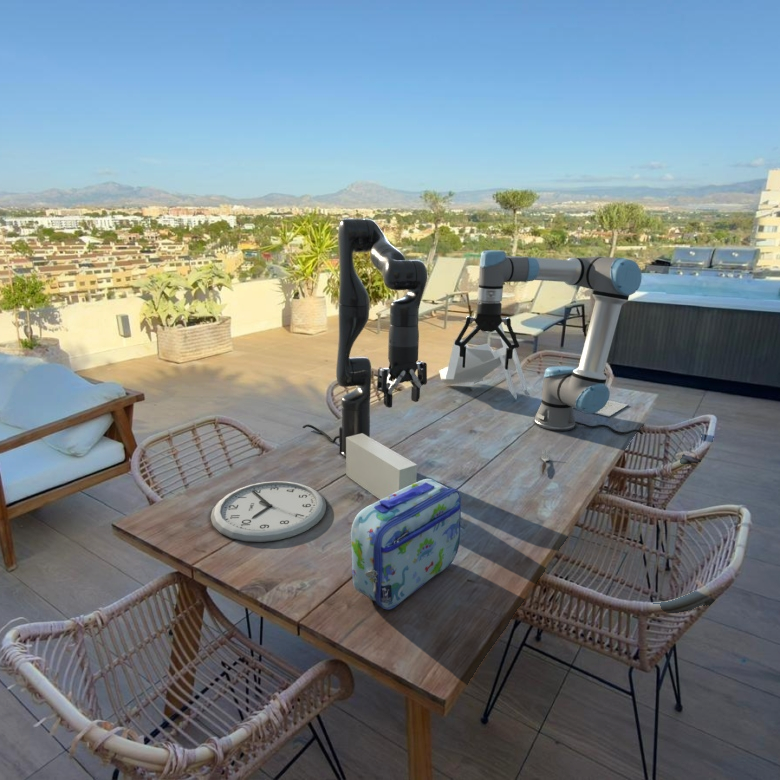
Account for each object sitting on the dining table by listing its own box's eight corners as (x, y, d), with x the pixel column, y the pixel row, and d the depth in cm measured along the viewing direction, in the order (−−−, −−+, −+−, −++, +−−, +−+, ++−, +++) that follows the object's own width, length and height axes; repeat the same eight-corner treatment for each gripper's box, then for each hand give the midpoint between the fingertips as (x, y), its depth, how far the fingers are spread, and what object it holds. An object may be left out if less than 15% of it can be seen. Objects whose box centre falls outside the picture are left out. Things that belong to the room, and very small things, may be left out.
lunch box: (380, 623, 100) (381, 528, 94) (344, 596, 108) (343, 505, 101) (464, 565, 118) (470, 482, 112) (428, 545, 125) (432, 466, 119)
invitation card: (608, 416, 214) (573, 407, 224) (608, 416, 214) (573, 408, 224) (628, 404, 229) (594, 396, 238) (628, 405, 229) (594, 397, 238)
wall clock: (324, 533, 126) (196, 538, 124) (324, 539, 127) (197, 544, 124) (327, 477, 155) (224, 479, 152) (327, 482, 155) (224, 484, 153)
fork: (538, 474, 162) (538, 468, 162) (542, 454, 177) (542, 449, 176) (546, 475, 162) (547, 470, 161) (550, 455, 176) (550, 450, 175)
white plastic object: (461, 429, 252) (437, 405, 227) (444, 352, 274) (420, 323, 250) (535, 404, 240) (518, 377, 215) (510, 326, 262) (492, 293, 237)
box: (346, 475, 160) (345, 437, 156) (362, 470, 163) (362, 433, 160) (398, 513, 140) (399, 470, 136) (415, 506, 143) (417, 464, 139)
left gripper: (389, 348, 123) (388, 413, 128) (435, 342, 131) (432, 403, 136) (371, 342, 129) (371, 404, 134) (416, 336, 137) (414, 395, 142)
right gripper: (449, 302, 161) (445, 368, 167) (532, 304, 158) (525, 372, 164) (449, 298, 168) (446, 362, 174) (528, 301, 165) (522, 366, 171)
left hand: (401, 403), depth 135 cm, fingers open, 8 cm apart
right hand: (484, 367), depth 169 cm, fingers open, 13 cm apart
